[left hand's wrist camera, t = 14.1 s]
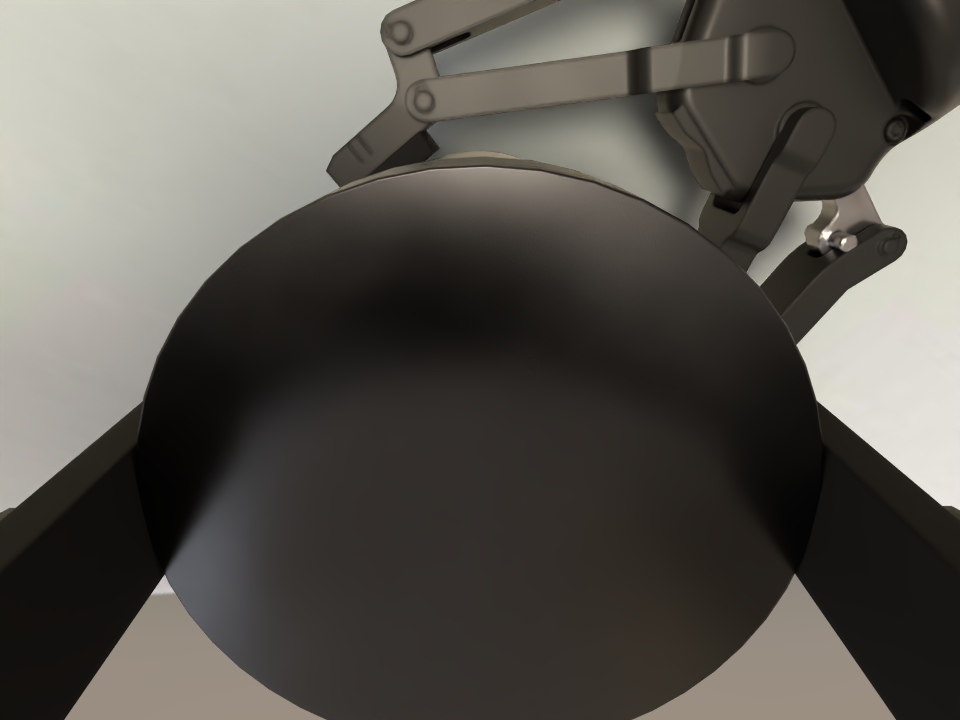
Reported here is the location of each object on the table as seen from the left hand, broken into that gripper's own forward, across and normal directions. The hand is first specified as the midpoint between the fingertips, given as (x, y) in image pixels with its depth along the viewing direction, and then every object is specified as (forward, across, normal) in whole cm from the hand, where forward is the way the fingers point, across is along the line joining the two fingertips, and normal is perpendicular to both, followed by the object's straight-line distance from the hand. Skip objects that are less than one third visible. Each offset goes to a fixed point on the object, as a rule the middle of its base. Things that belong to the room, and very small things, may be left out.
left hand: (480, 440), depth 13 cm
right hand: (+9, -3, -3) cm, 10 cm away
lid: (-2, 0, 0) cm, 2 cm away
